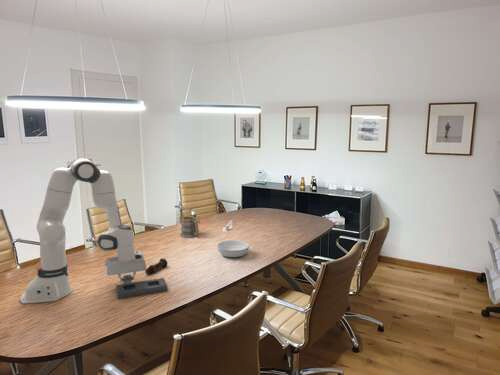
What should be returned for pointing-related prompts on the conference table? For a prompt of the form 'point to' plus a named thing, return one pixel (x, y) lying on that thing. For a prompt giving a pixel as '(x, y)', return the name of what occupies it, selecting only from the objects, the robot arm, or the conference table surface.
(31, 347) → the conference table surface
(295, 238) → the conference table surface
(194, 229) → the tankard
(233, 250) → the serving bowl
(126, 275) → the wood grain block
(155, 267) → the bolt
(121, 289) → the grey slotted board
